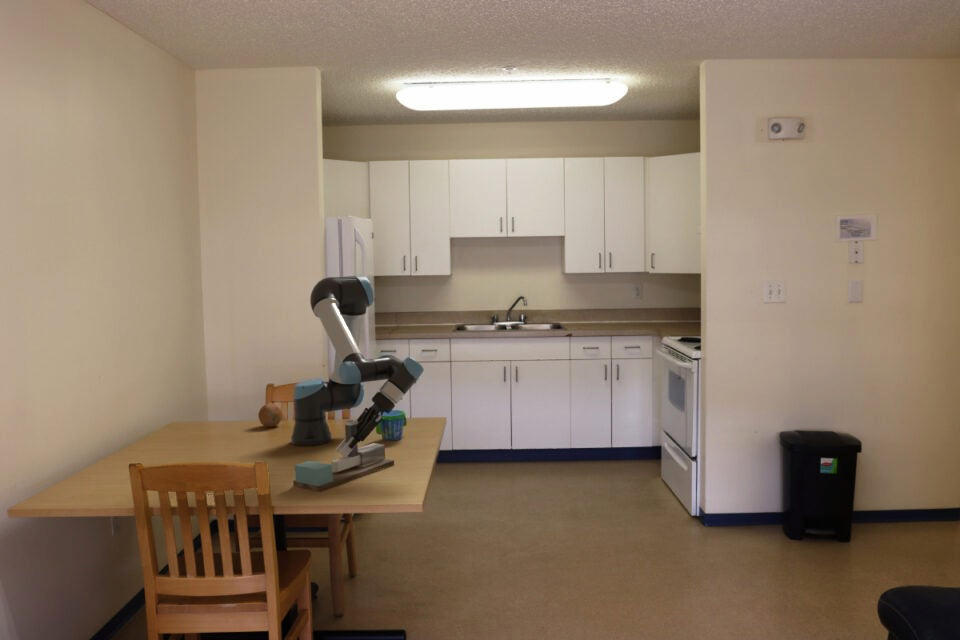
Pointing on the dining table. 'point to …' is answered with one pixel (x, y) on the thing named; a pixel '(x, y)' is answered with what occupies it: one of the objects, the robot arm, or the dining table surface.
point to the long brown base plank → (356, 467)
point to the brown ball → (270, 415)
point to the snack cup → (392, 425)
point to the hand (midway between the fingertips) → (340, 453)
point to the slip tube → (353, 456)
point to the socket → (313, 473)
